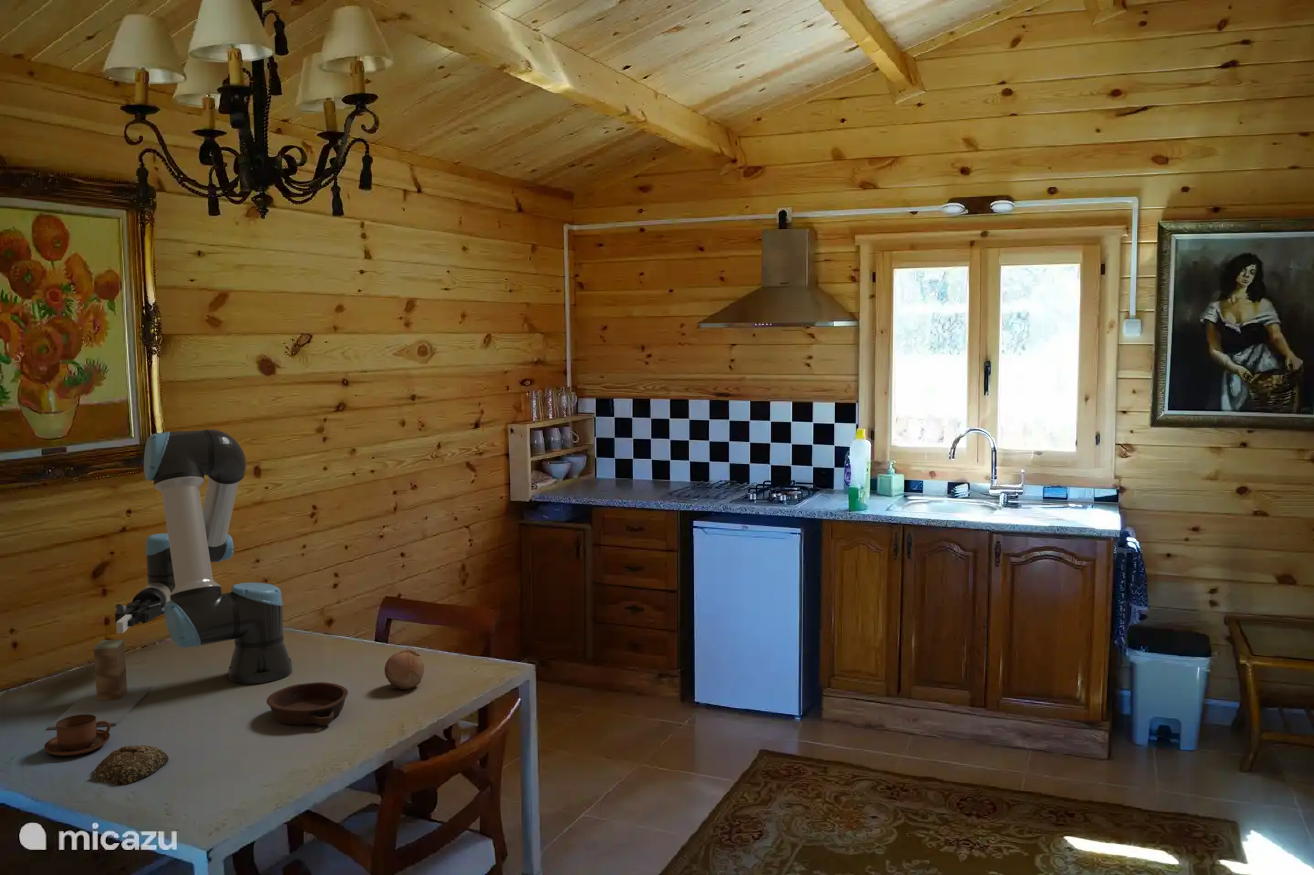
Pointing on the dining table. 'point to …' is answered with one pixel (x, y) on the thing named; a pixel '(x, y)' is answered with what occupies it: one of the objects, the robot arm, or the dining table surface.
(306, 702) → the dish
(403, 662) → the onion
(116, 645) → the walnut block
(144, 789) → the dining table surface
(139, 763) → the bread roll
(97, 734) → the cup and saucer
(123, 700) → the rubber mat
